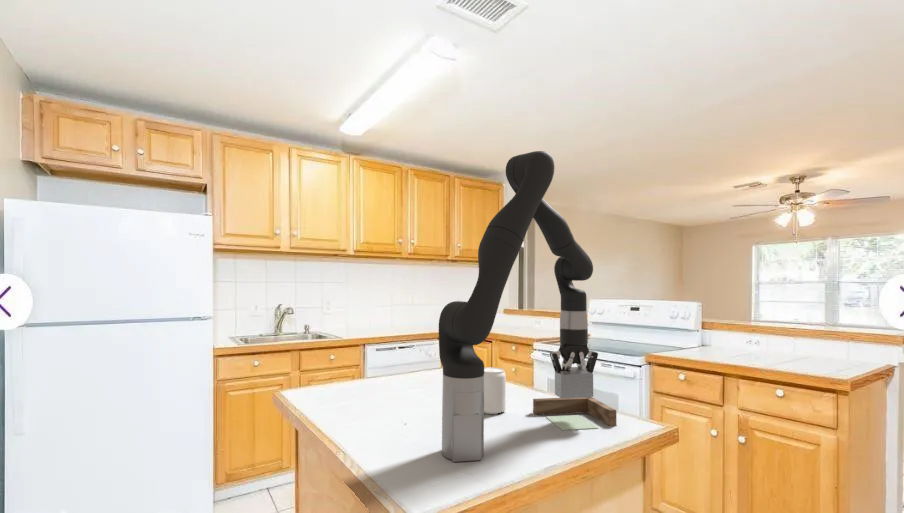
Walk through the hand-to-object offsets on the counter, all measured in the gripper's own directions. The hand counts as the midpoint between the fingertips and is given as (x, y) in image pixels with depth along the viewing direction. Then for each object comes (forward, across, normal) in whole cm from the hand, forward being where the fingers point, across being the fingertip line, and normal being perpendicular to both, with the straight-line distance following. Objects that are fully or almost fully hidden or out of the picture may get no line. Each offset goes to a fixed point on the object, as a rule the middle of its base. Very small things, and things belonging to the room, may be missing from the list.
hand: (574, 388), depth 123 cm
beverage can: (+9, +21, -11) cm, 25 cm away
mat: (+8, +2, +2) cm, 9 cm away
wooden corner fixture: (+8, 0, 0) cm, 8 cm away
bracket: (0, +2, +3) cm, 4 cm away
